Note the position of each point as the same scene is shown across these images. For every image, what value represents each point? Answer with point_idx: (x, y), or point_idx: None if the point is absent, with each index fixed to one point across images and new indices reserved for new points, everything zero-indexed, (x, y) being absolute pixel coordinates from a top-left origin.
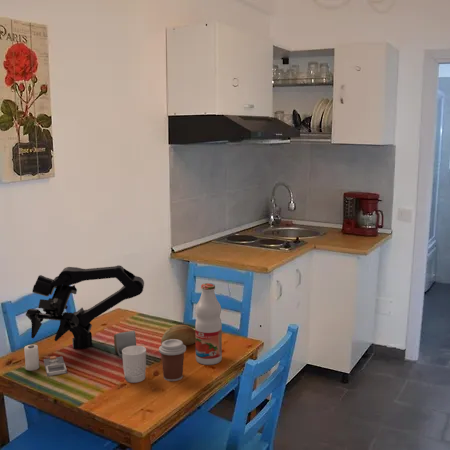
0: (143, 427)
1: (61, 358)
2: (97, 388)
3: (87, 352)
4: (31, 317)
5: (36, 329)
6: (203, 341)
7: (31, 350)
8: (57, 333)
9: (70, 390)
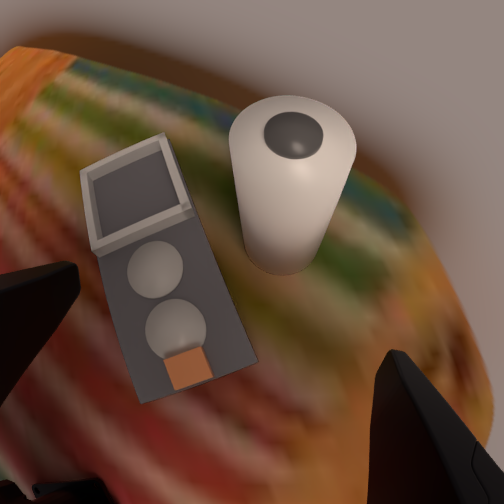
0: (8, 52)
1: (135, 368)
2: (21, 131)
3: (55, 480)
4: None
5: (393, 489)
6: None
7: (267, 104)
8: (8, 281)
9: (88, 105)
